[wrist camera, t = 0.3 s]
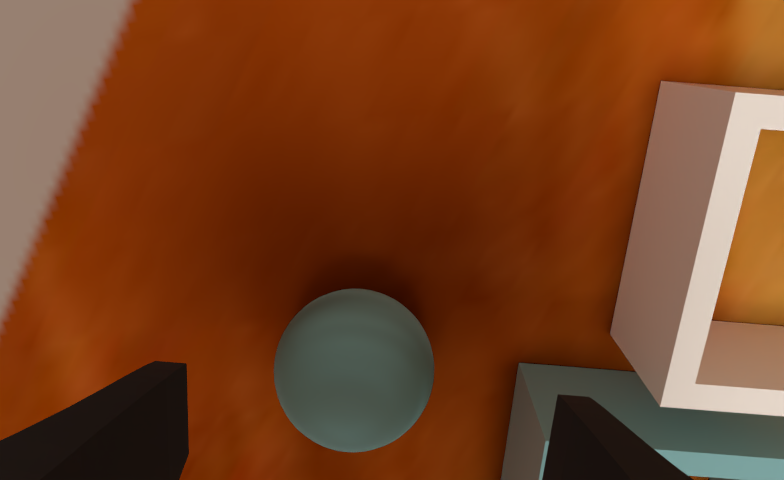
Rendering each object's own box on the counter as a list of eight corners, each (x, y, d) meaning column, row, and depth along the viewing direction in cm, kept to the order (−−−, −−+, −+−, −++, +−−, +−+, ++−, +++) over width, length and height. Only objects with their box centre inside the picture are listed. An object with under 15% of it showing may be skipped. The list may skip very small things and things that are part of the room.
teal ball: (424, 399, 22) (429, 495, 18) (288, 388, 22) (256, 481, 18) (438, 271, 21) (446, 339, 16) (291, 260, 21) (257, 325, 16)
